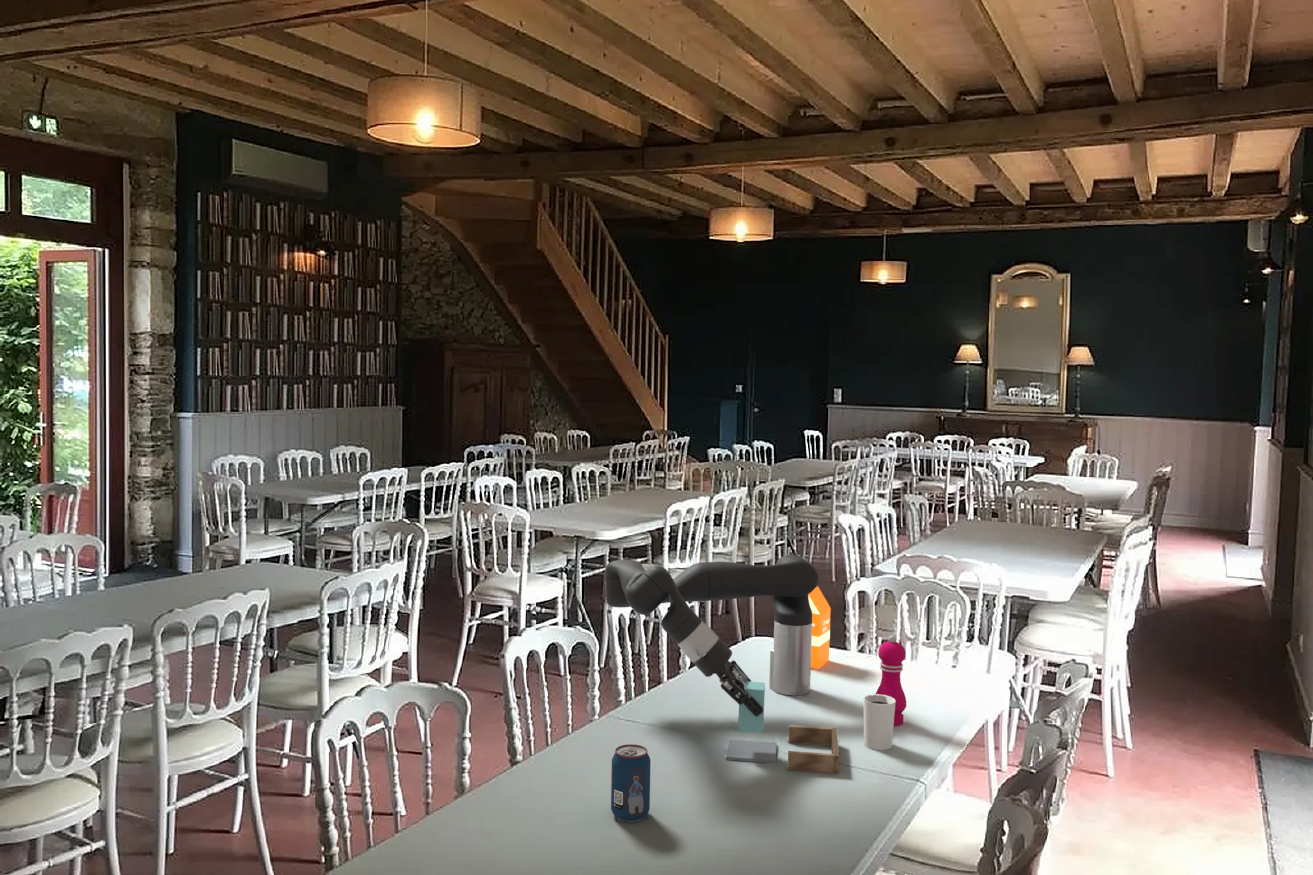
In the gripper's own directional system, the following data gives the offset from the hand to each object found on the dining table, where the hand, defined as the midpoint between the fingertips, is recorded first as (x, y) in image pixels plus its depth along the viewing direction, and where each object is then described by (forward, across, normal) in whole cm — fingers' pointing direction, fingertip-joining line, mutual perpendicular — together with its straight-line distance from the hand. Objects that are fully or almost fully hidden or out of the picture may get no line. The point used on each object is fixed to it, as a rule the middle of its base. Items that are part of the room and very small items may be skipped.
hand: (760, 708), depth 221 cm
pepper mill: (+27, -24, +13) cm, 39 cm away
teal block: (+2, 0, -4) cm, 5 cm away
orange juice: (+15, -68, +1) cm, 69 cm away
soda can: (-8, +34, -22) cm, 41 cm away
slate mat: (+6, 0, -8) cm, 10 cm away
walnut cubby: (+14, 0, +1) cm, 14 cm away
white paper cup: (+24, -9, +11) cm, 28 cm away
